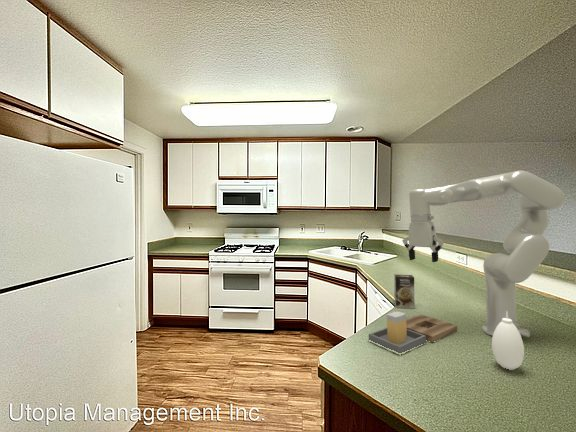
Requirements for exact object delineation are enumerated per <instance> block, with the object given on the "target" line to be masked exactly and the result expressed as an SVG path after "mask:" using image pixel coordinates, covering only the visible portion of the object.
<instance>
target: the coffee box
mask: <svg viewBox="0 0 576 432" xmlns="http://www.w3.org/2000/svg"><path fill="white" fill-rule="evenodd" d="M393 275H394V280H393V281H394V282H393V283H394V286H393V287H394V291H393V292H394V307H395V308H396V309H410V310H415V277H414V276H413V275H412V274H393Z"/></svg>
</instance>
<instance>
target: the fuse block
mask: <svg viewBox="0 0 576 432" xmlns="http://www.w3.org/2000/svg"><path fill="white" fill-rule="evenodd" d="M406 320H407V314H406V313H405V312H401V311H393V312H391V313H387V314H386V327H387V339H388V341H389V342H391V343H394V344H396V345H397V344H400V343H402V342H404V341H407V327H406Z"/></svg>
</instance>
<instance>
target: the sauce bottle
mask: <svg viewBox="0 0 576 432" xmlns="http://www.w3.org/2000/svg"><path fill="white" fill-rule="evenodd" d="M512 322H513V321H512V320H511V319H509V318H508V312H507V311H506V318H502V321H501V322H500V323H499V324H498V326H497V327H496V329H495V331H494V334H493V336H492V337H491V338H492V339H491V350H492V354H493V358H494V359H495V361H496V363H498V364H499V365H500V366H501V367H502V368H503V369H505V368H506V369H505V370H507V369H509V370H508V371H513V370H515V369H517V368H519V367H520V366H521V365H522V364H523V361H524V356H525V345H524V341H523V339H522V337H521V335H520V333H519V331H518V329H517V328H516V326H515V325H514V324H513V323H512Z"/></svg>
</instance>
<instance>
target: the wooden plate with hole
mask: <svg viewBox="0 0 576 432" xmlns="http://www.w3.org/2000/svg"><path fill="white" fill-rule="evenodd" d="M406 327H407V329H409V330H411V331H414V332H417V333H420V334H422V335H425V336H426V340H427V341H426V342H428V341H430V342H434V341H436V342H438V341H437V340H439V339H441V340H442V338H443V339H445V338H447V337H449V336H452V335H453V334H455V333H457V332H458V325H457V324H454V323H451V322H447V321H443V320H441V319H437V318H434V317H430V316H427V315H424V314H417V315H415V316H413V317H410V318H408V319H407V318H406ZM444 337H445V338H444ZM439 341H440V340H439ZM430 342H429V343H430ZM434 343H435V342H434Z"/></svg>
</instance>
